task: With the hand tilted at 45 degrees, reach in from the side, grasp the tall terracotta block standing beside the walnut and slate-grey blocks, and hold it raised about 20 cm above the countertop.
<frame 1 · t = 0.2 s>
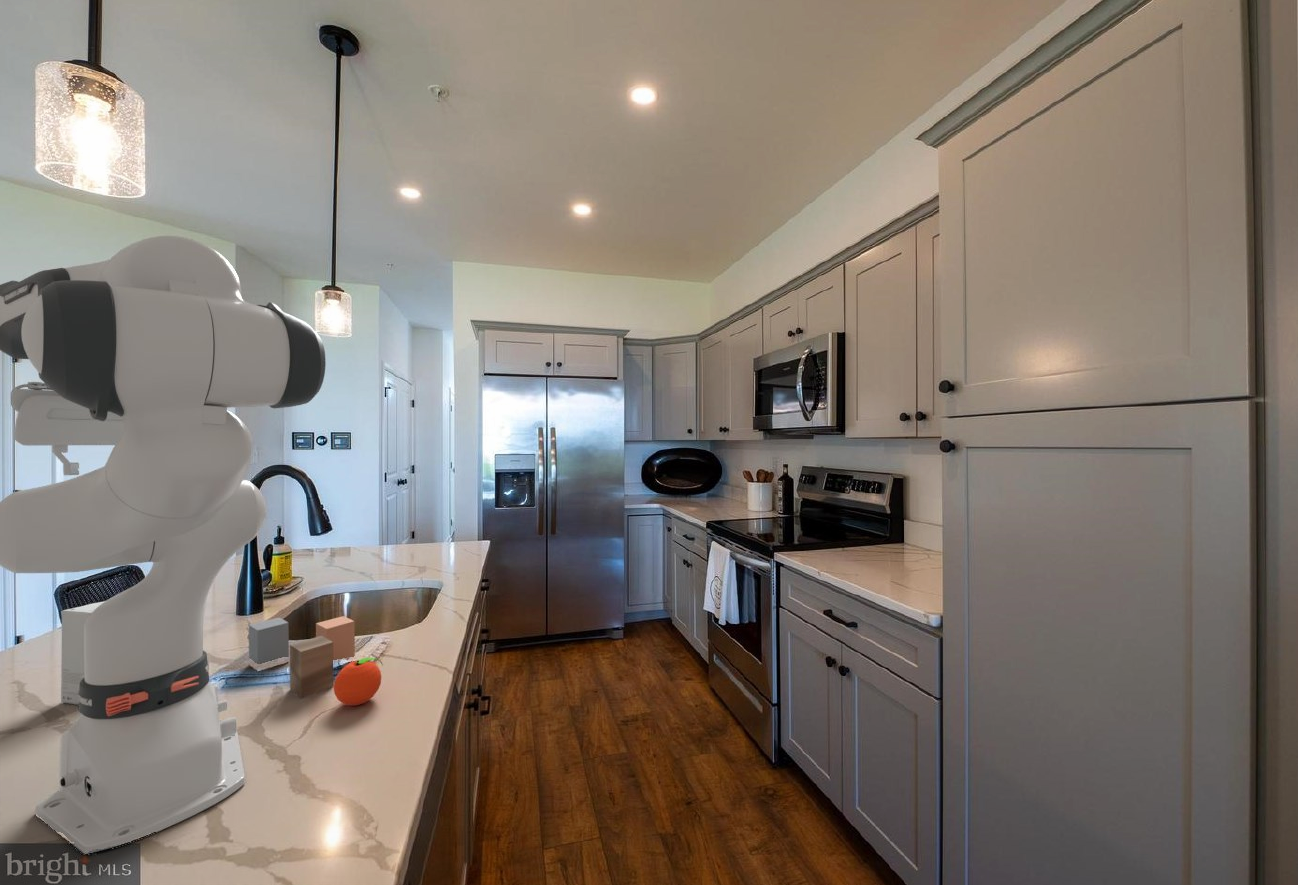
hand: (116, 473, 79), 39 cm above the counter, tool pointing down, fingers open, 8 cm apart
skincare box: (104, 694, 87), on the counter
terracotta block: (335, 662, 99), on the counter
clementine: (361, 702, 84), on the counter
slate-grey block: (269, 663, 98), on the counter
walnut block: (312, 688, 88), on the counter
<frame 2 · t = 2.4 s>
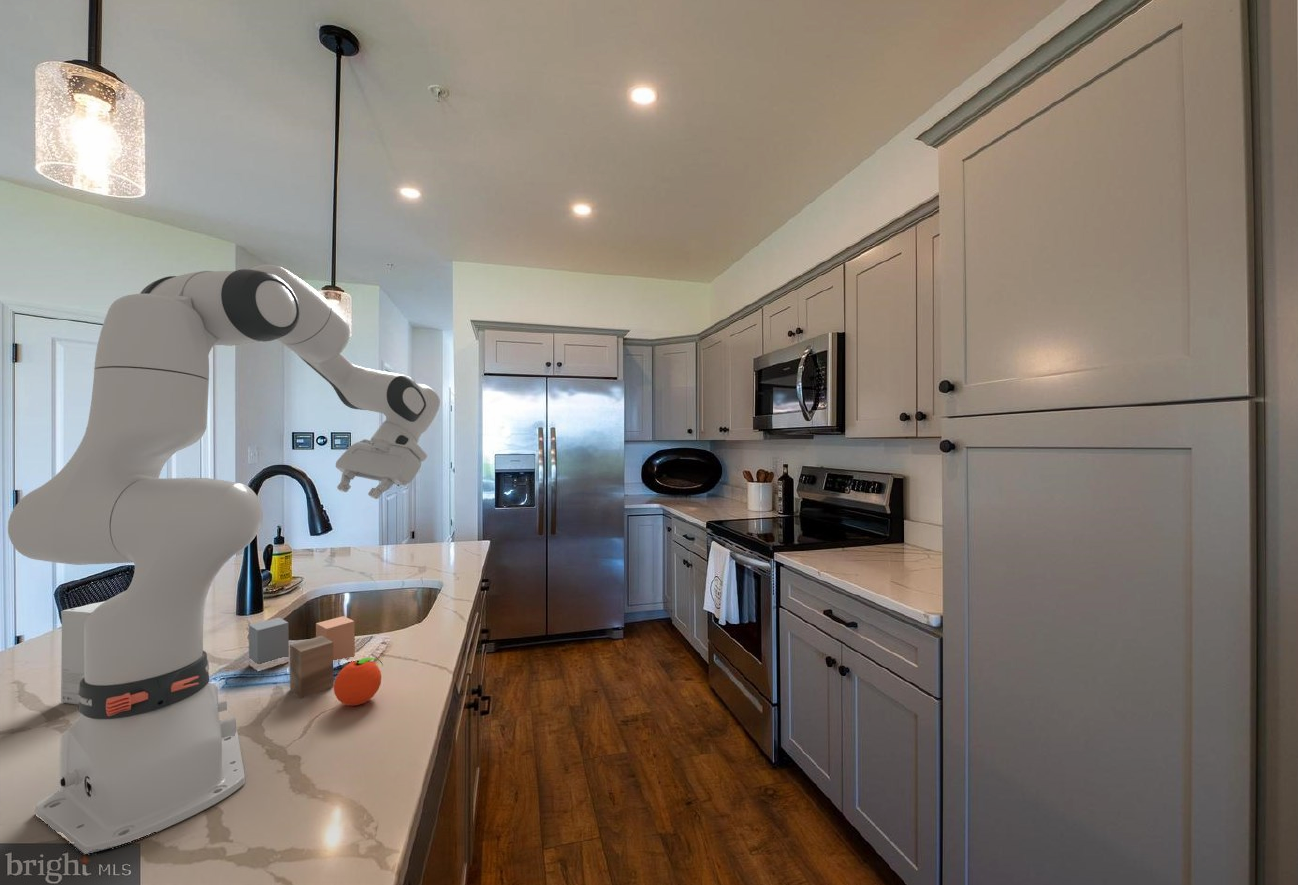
hand: (356, 493, 109), 32 cm above the counter, tool tilted 40°, fingers open, 8 cm apart
nothing on the counter moved.
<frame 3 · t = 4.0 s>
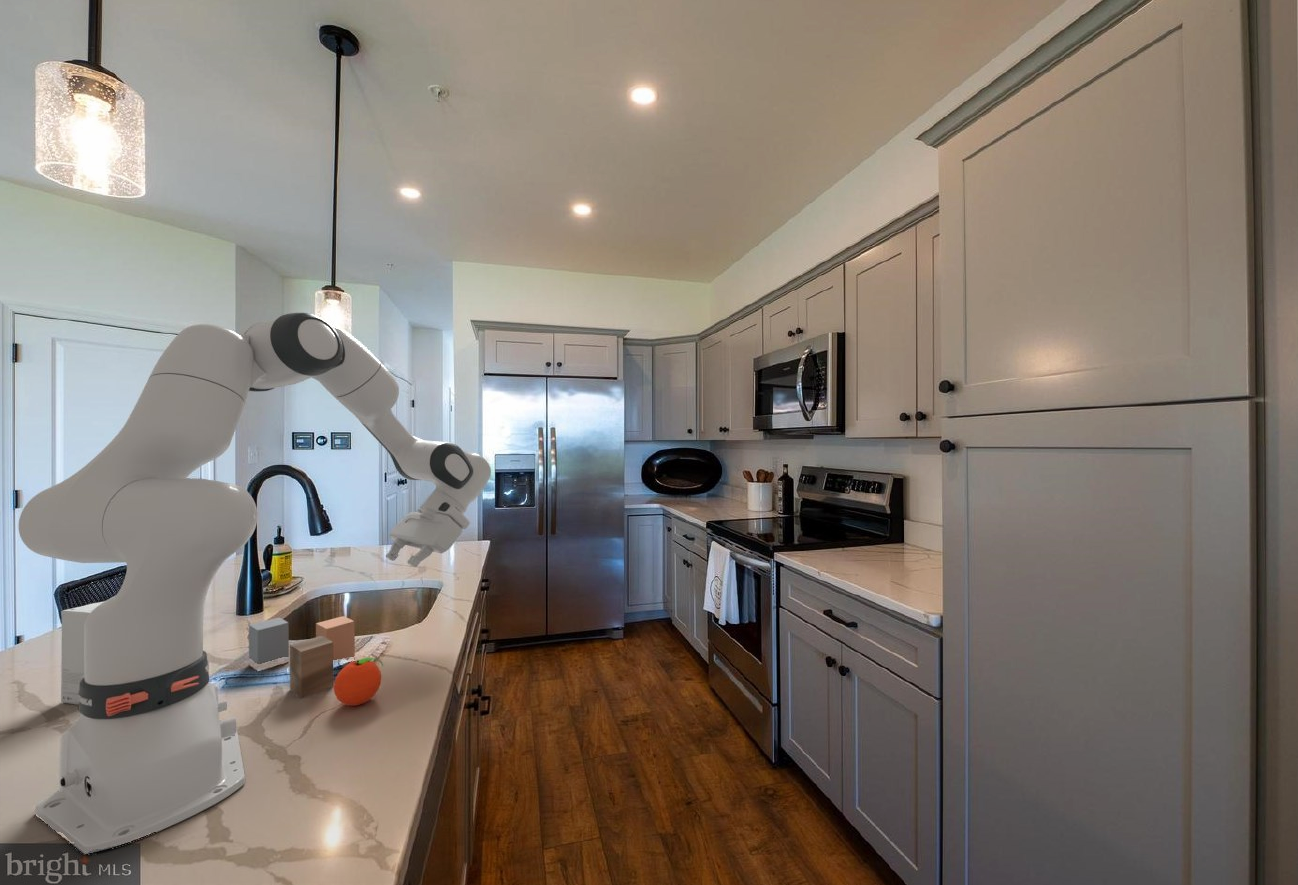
hand: (399, 562, 109), 17 cm above the counter, tool tilted 45°, fingers open, 8 cm apart
nothing on the counter moved.
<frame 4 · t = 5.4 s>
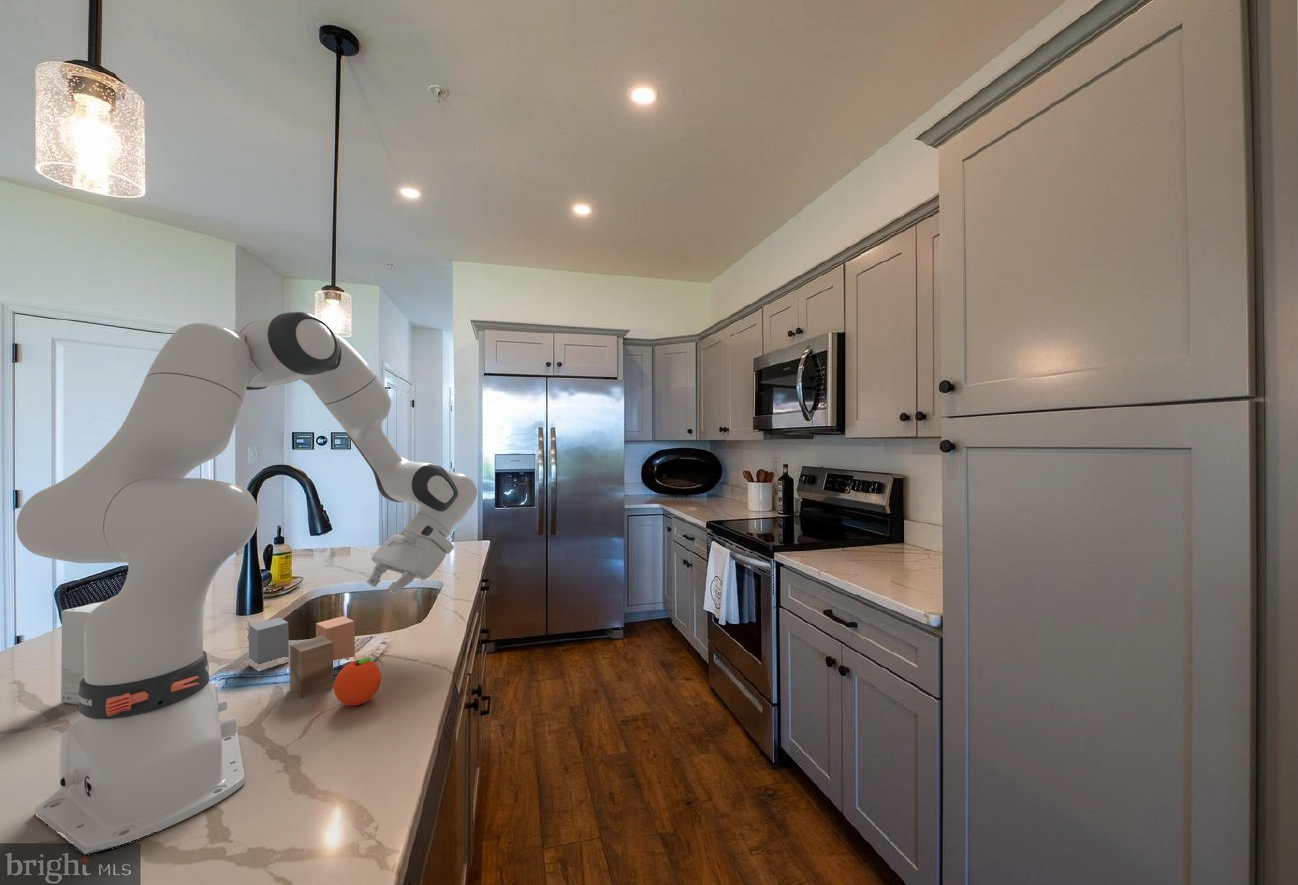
hand: (380, 588, 106), 13 cm above the counter, tool tilted 45°, fingers open, 8 cm apart
nothing on the counter moved.
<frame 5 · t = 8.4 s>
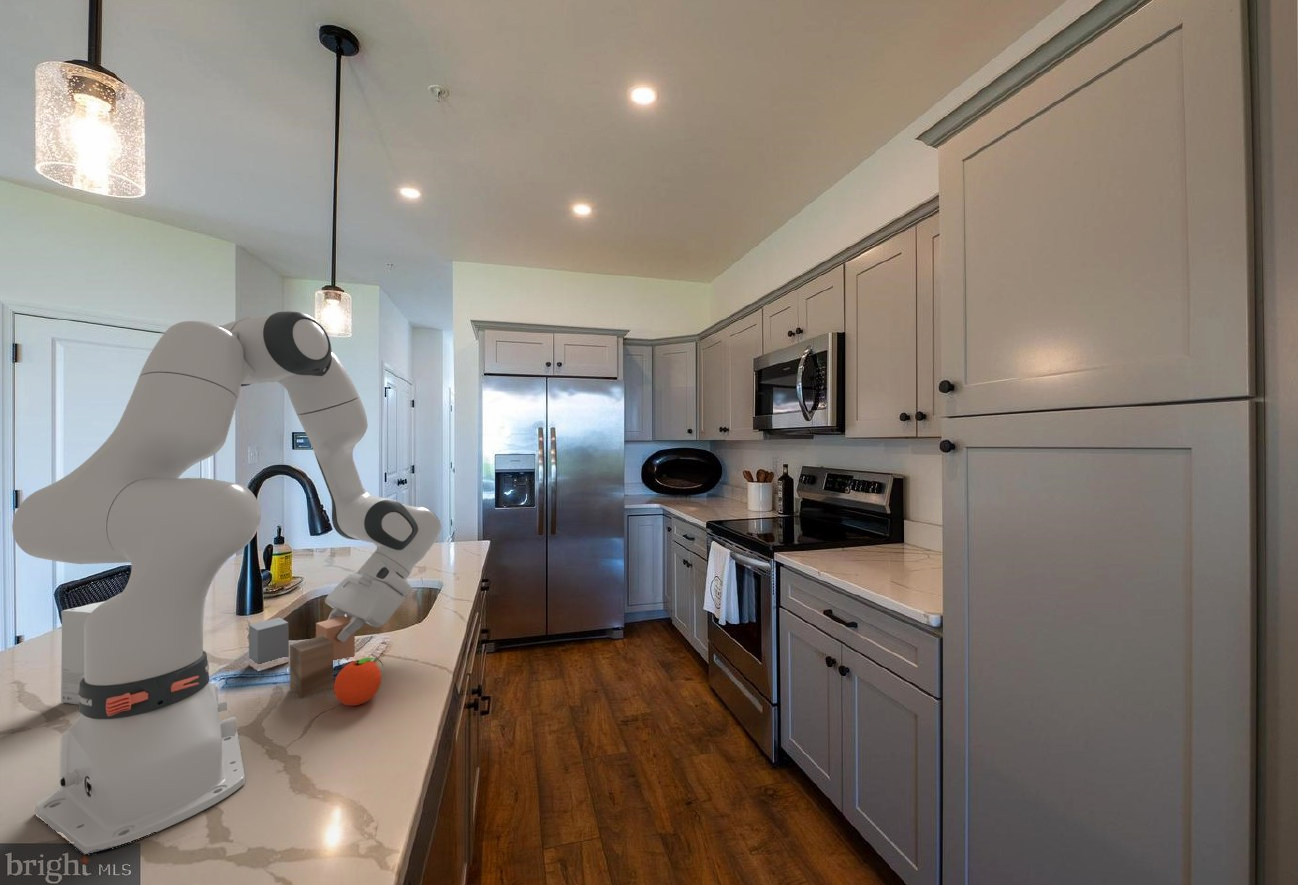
hand: (331, 636, 98), 5 cm above the counter, tool tilted 45°, fingers closed on terracotta block, 5 cm apart
terracotta block: (335, 662, 99), on the counter, touching gripper
everything else where it was.
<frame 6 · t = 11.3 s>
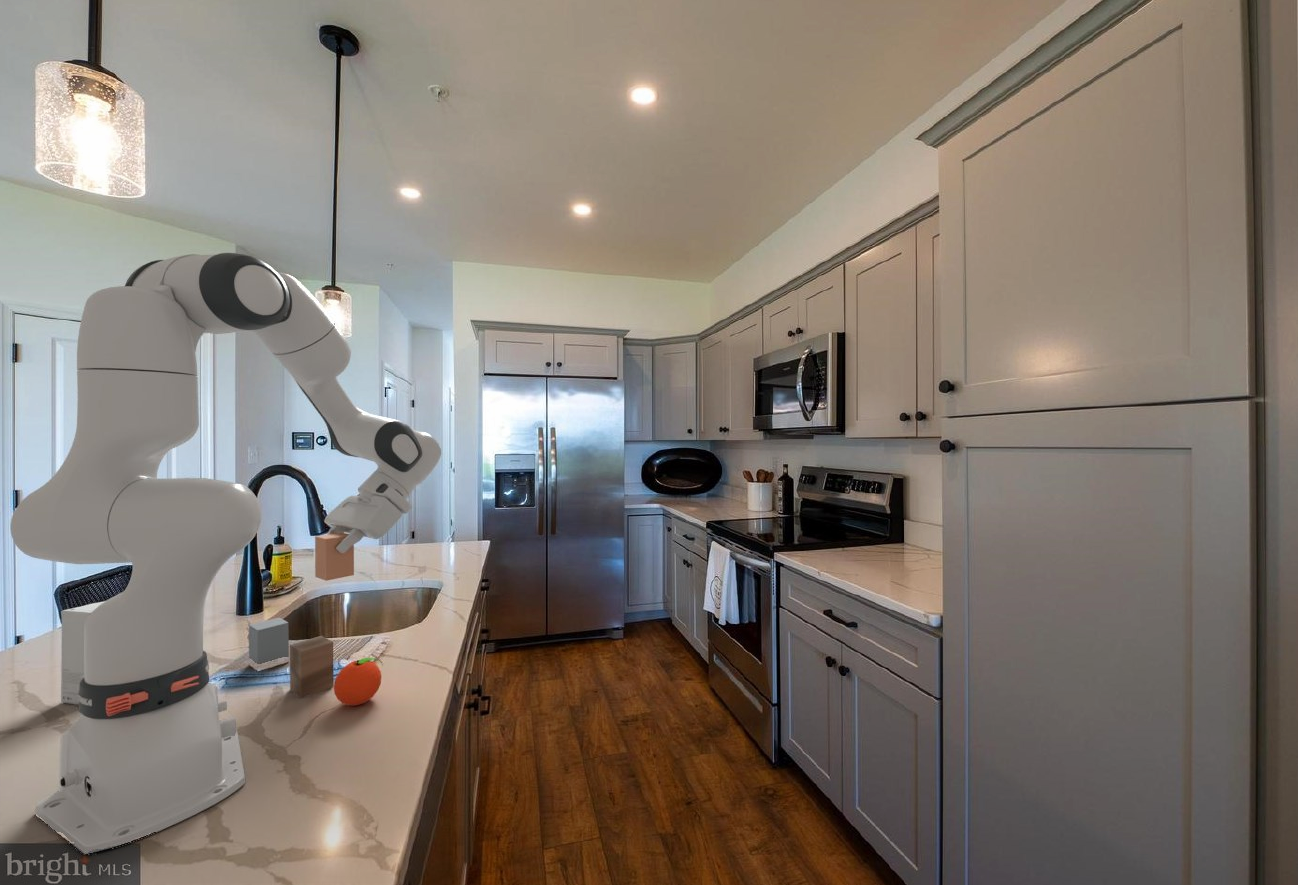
hand: (330, 549, 98), 23 cm above the counter, tool tilted 45°, fingers closed on terracotta block, 5 cm apart
terracotta block: (334, 575, 99), point 17 cm above the counter, touching gripper
everything else where it was.
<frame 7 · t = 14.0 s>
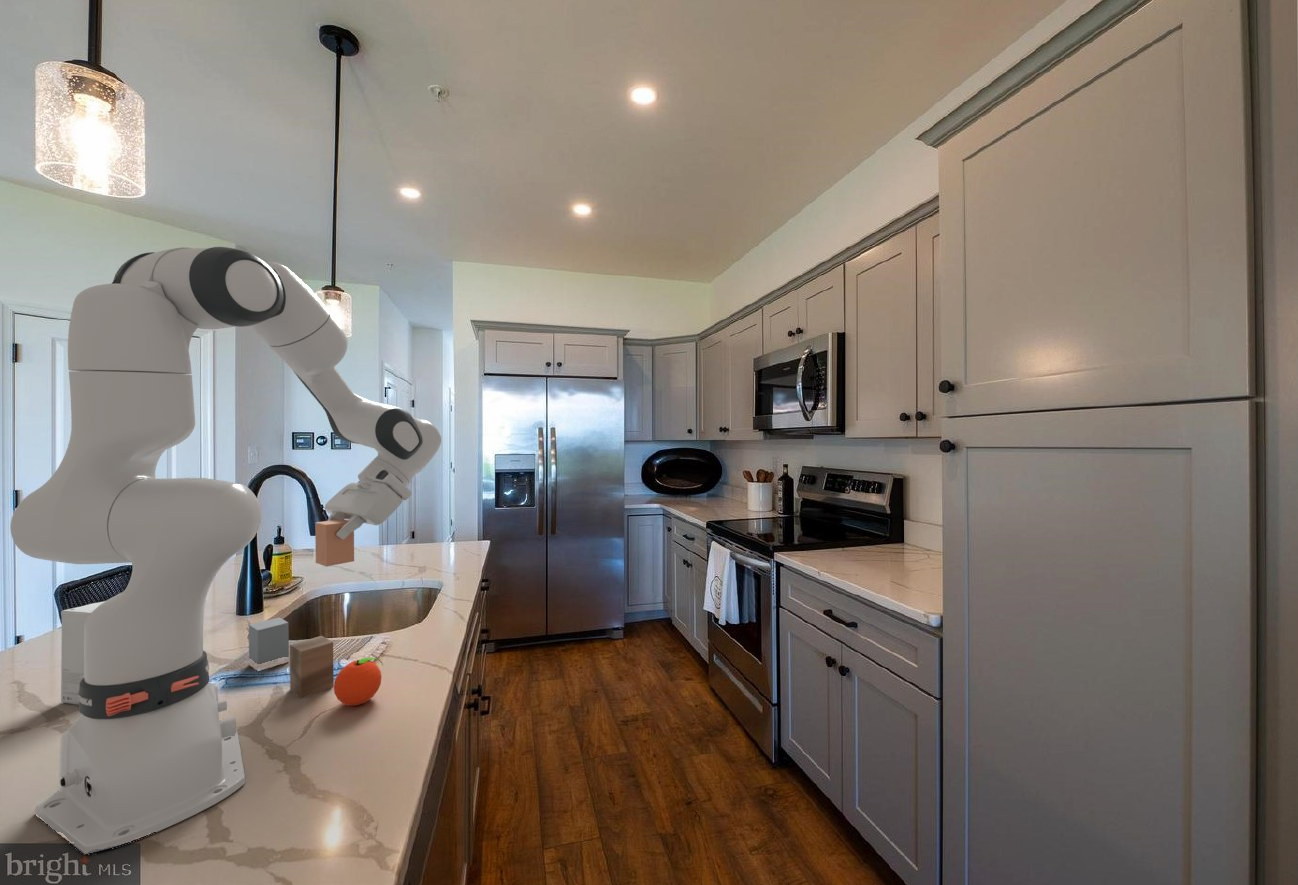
hand: (331, 535, 98), 25 cm above the counter, tool tilted 45°, fingers closed on terracotta block, 5 cm apart
terracotta block: (335, 561, 99), point 20 cm above the counter, touching gripper
everything else where it was.
at the end: the gripper is holding terracotta block; terracotta block point 19.9 cm above the counter; walnut block moved 0.1 cm from its start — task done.
